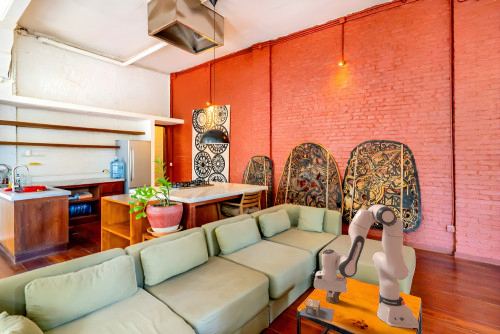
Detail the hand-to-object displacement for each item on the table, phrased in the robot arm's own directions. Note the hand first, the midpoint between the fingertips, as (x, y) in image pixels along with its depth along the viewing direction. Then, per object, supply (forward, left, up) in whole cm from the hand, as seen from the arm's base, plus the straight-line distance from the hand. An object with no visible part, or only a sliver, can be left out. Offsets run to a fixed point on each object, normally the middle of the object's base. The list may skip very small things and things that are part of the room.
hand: (330, 296), depth 164 cm
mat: (+9, 0, -12) cm, 15 cm away
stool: (+7, 0, -9) cm, 12 cm away
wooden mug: (-1, -19, -12) cm, 22 cm away
